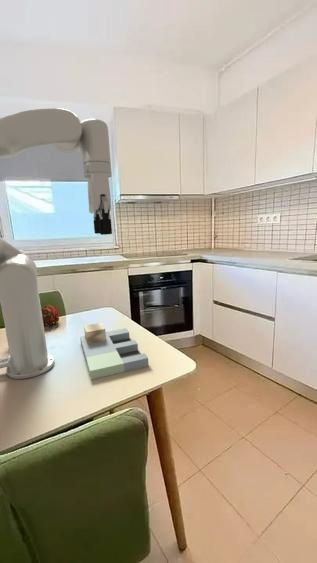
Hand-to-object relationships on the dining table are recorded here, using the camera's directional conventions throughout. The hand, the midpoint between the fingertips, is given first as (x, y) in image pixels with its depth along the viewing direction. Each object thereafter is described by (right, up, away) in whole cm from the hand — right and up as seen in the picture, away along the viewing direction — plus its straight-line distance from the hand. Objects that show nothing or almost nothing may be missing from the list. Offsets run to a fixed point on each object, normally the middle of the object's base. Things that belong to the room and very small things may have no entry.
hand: (103, 233), depth 80 cm
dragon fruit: (-29, -31, +34) cm, 55 cm away
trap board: (+2, -36, +6) cm, 37 cm away
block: (-5, -33, +12) cm, 35 cm away
